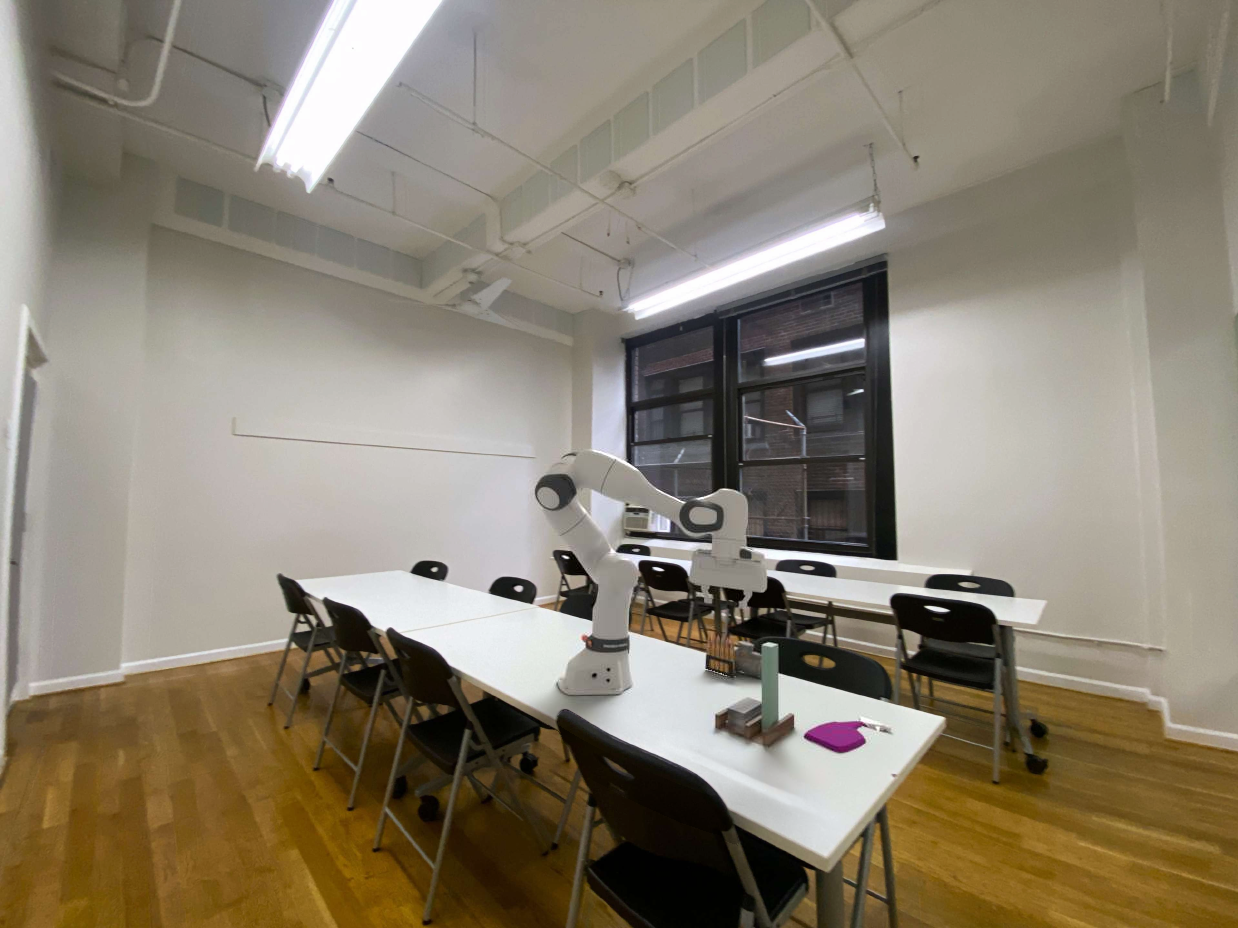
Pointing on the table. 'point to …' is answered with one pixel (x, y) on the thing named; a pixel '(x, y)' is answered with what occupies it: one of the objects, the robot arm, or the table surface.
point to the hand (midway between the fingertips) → (724, 605)
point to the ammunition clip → (721, 656)
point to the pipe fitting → (748, 659)
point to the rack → (758, 728)
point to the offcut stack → (742, 714)
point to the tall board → (769, 685)
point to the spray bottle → (842, 734)
